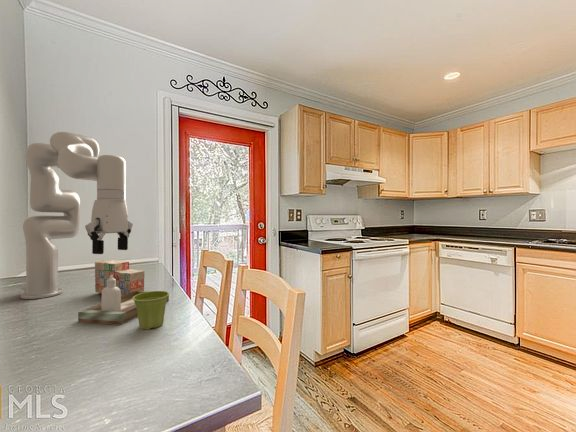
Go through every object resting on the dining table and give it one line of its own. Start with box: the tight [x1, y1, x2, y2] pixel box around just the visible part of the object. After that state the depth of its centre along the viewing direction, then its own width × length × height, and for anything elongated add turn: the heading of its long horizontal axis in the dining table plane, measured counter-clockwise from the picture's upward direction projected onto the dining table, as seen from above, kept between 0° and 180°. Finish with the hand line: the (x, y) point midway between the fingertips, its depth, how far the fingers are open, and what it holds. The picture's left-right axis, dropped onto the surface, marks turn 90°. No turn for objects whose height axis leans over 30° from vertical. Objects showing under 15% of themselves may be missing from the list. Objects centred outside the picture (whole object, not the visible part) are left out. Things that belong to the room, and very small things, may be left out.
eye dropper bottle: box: [101, 275, 121, 312], centre depth 86 cm, size 4×6×12 cm
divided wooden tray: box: [77, 290, 170, 326], centre depth 93 cm, size 14×24×3 cm, turn 171°
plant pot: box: [133, 290, 170, 330], centre depth 80 cm, size 9×9×9 cm
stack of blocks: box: [94, 259, 145, 296], centre depth 111 cm, size 21×6×12 cm, turn 65°
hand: (111, 251), depth 86 cm, fingers open, 9 cm apart
